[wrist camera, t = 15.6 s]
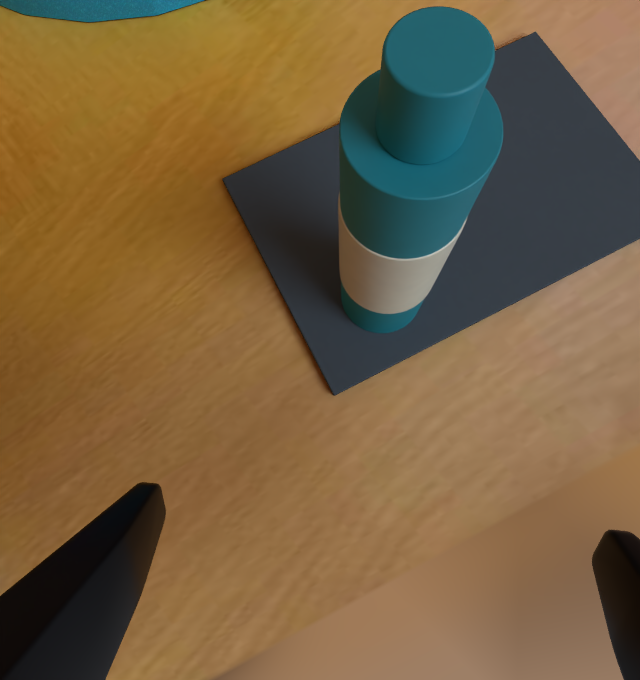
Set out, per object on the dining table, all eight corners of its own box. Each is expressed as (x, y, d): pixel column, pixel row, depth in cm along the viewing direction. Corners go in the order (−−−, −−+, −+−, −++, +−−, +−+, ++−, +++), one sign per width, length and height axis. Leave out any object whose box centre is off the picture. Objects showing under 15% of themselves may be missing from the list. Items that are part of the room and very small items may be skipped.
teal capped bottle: (405, 346, 20) (510, 166, 8) (327, 317, 21) (303, 101, 8) (433, 273, 21) (570, -3, 8) (357, 246, 21) (377, -52, 9)
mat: (677, 219, 21) (683, 215, 21) (333, 396, 20) (333, 395, 20) (532, 37, 24) (535, 31, 24) (223, 182, 23) (221, 178, 23)
